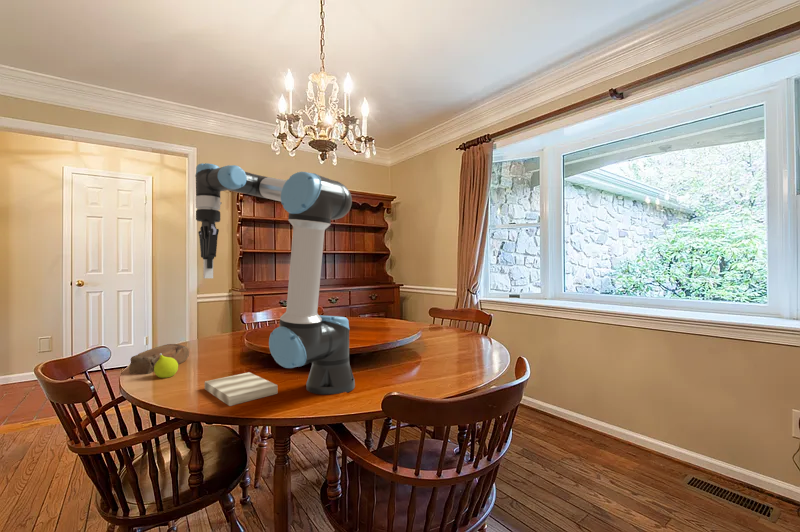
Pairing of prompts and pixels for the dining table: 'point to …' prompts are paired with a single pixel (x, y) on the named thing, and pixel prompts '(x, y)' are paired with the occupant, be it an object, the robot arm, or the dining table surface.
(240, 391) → the board
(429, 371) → the dining table surface
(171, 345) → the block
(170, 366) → the ornament
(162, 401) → the dining table surface
